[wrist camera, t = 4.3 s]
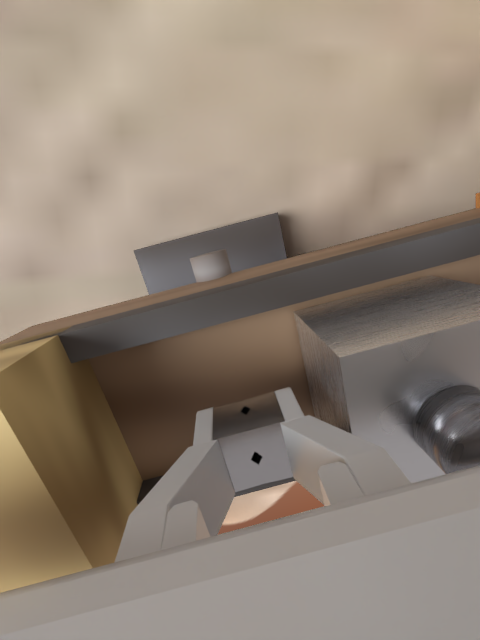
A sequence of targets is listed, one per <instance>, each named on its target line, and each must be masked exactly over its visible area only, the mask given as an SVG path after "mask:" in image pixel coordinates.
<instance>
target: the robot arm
mask: <svg viewBox="0 0 480 640" xmlns="http://www.w3.org/2000/svg"><path fill="white" fill-rule="evenodd" d="M291 477H293V478H294V479H295V480H296V481H297V482H298V483H300V484H301V485H302V486H303V487H304V488H305V489H307V490H308V491H309V492H310V493H311V494H312V495H313V496H315V497H316V498H317V499H318V500H319V501H320V502H322V503H323V504H324V505H325V506H324V507H321V508H317V509H313V510H310V511H305V512H302V513H298V514H295V515H290V516H287V517H283V518H279V519H276V520H272V521H268V522H264V523H261V524H257V525H253V526H250V527H246V528H242V529H238V530H234V531H231V532H227V533H223V534H220V535H217V534H218V532H219V530H220V528H221V525H222V523H223V521H224V519H225V516H226V514H227V512H228V510H229V507H230V505H231V503H232V501H233V498H234V496H235V492H238V491H241V490H245V489H248V488H251V487H255V486H258V485H261V484H265V483H269V482H274V481H278V480H282V479H286V478H291ZM0 640H480V465H478V466H475V467H471V468H467V469H464V470H460V471H456V472H453V473H449V474H445V475H441V476H437V477H434V478H430V479H426V480H422V481H419V482H415V483H411V482H410V481H409V480H408V479H407V477H406V476H405V475H404V473H403V472H402V471H401V470H400V468H399V467H398V466H397V464H396V463H395V462H394V461H393V459H392V458H391V457H390V456H389V454H388V453H387V452H386V450H385V449H384V448H382V447H380V446H378V445H375V444H373V443H371V442H369V441H366V440H364V439H362V438H360V437H357V436H355V435H353V434H351V433H348V432H346V431H344V430H342V429H339V428H337V427H335V426H333V425H330V424H328V423H326V422H324V421H321V420H319V419H317V418H315V417H312V416H310V415H308V416H304V414H303V412H302V410H301V408H300V406H299V404H298V402H297V400H296V398H295V396H294V393H293V391H292V389H291V388H290V387H286V388H283V389H280V390H276V391H273V392H270V393H266V394H263V395H259V396H256V397H252V398H249V399H246V400H240V401H236V402H232V403H228V404H223V405H219V406H215V407H211V408H207V409H203V410H200V411H198V412H197V414H196V423H195V432H194V441H193V446H190V447H188V448H187V449H186V450H185V451H184V453H183V454H182V455H181V456H180V457H179V458H178V460H177V461H176V462H175V463H174V464H173V465H172V466H171V468H170V469H169V470H168V471H167V472H166V473H165V475H164V476H163V477H162V478H161V479H160V480H159V481H158V483H157V484H156V485H155V486H154V487H153V488H152V490H151V491H150V492H149V493H148V494H147V495H146V496H145V498H144V499H143V500H142V501H141V502H140V503H139V504H138V506H137V507H136V508H135V509H134V510H133V511H132V513H131V514H130V515H129V517H128V521H127V524H126V527H125V530H124V534H123V537H122V540H121V543H120V546H119V550H118V553H117V556H116V559H115V562H114V563H111V564H107V565H103V566H99V567H96V568H92V569H88V570H84V571H80V572H77V573H73V574H69V575H65V576H62V577H58V578H54V579H50V580H47V581H43V582H39V583H35V584H32V585H28V586H24V587H20V588H16V589H13V590H9V591H5V592H1V593H0Z"/></svg>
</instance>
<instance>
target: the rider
mask: <svg viewBox="0 0 480 640" xmlns="http://www.w3.org/2000/svg"><path fill="white" fill-rule="evenodd" d="M294 316H295V321H296V326H297V331H298V336H299V341H300V346H301V351H302V356H303V361H304V365H305V370H306V375H307V380H308V385H309V390H310V395H311V400H312V405H313V410H314V414H315V418H317V419H319V420H321V421H324V422H326V423H328V424H330V425H333V426H335V427H337V428H339V429H342V430H344V431H346V432H348V433H351V434H353V435H355V436H357V437H360V438H362V439H364V440H366V441H369V442H371V443H373V444H375V445H378V446H380V447H382V448H384V449H385V450H386V452H387V453H388V454H389V456H390V457H391V458H392V459H393V461H394V462H395V463H396V464H397V466H398V467H399V468H400V470H401V471H402V472H403V473H404V475H405V476H406V477H407V479H408V480H409V481H410V482H411V483H415V482H419V481H422V480H426V479H430V478H434V477H437V476H441V475H445V474H449V473H453V472H456V471H460V470H464V469H467V468H471V467H475V466H478V465H480V285H477V284H472V283H467V282H462V281H457V280H451V279H446V278H441V277H436V276H431V275H429V276H426V277H422V278H418V279H414V280H411V281H407V282H403V283H399V284H395V285H392V286H388V287H384V288H380V289H377V290H373V291H369V292H365V293H362V294H358V295H354V296H350V297H347V298H343V299H339V300H335V301H332V302H328V303H324V304H320V305H317V306H313V307H309V308H305V309H301V310H298V311H294Z"/></svg>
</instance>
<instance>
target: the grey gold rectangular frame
mask: <svg viewBox="0 0 480 640" xmlns="http://www.w3.org/2000/svg"><path fill="white" fill-rule="evenodd" d="M134 253H135V256H136V259H137V261H138V264H139V267H140V270H141V273H142V276H143V278H144V281H145V284H146V287H147V290H148V293H149V295H147V296H143V297H140V298H136V299H132V300H128V301H125V302H121V303H117V304H113V305H109V306H106V307H102V308H98V309H94V310H91V311H87V312H83V313H79V314H75V315H72V316H68V317H64V318H60V319H57V320H53V321H49V322H45V323H42V324H38V325H34V326H31V327H29V328H27V329H25V330H23V331H21V332H19V333H17V334H15V335H13V336H11V337H9V338H7V339H5V340H3V341H1V342H0V593H1V592H5V591H9V590H13V589H16V588H20V587H24V586H28V585H32V584H35V583H39V582H43V581H47V580H50V579H54V578H58V577H62V576H65V575H69V574H73V573H77V572H80V571H84V570H88V569H92V568H96V567H99V566H103V565H107V564H111V563H114V562H115V559H116V556H117V553H118V550H119V546H120V543H121V540H122V537H123V534H124V530H125V527H126V524H127V521H128V517H129V515H130V514H131V513H132V511H133V510H134V509H135V508H136V507H137V506H138V504H139V503H140V502H141V501H142V500H143V499H144V498H145V496H146V495H147V494H148V493H149V492H150V491H151V490H152V488H153V487H154V486H155V485H156V484H157V483H158V481H159V480H160V479H161V478H162V477H163V476H164V475H165V473H166V472H167V471H168V470H169V469H170V468H171V466H172V465H173V464H174V463H175V462H176V461H177V460H178V458H179V457H180V456H181V455H182V454H183V453H184V451H185V450H186V449H187V448H188V447H190V446H193V441H194V432H195V423H196V414H197V412H198V411H200V410H203V409H207V408H211V407H215V406H219V405H223V404H228V403H232V402H236V401H240V400H246V399H249V398H252V397H256V396H259V395H263V394H266V393H270V392H273V391H276V390H280V389H283V388H286V387H290V388H291V389H292V391H293V393H294V396H295V398H296V400H297V402H298V404H299V406H300V408H301V410H302V412H303V414H304V416H308V415H310V416H312V417H315V414H314V410H313V405H312V400H311V395H310V390H309V385H308V380H307V375H306V370H305V365H304V361H303V356H302V351H301V346H300V341H299V336H298V331H297V326H296V321H295V316H294V311H298V310H301V309H305V308H309V307H313V306H317V305H320V304H324V303H328V302H332V301H335V300H339V299H343V298H347V297H350V296H354V295H358V294H362V293H365V292H369V291H373V290H377V289H380V288H384V287H388V286H392V285H395V284H399V283H403V282H407V281H411V280H414V279H418V278H422V277H426V276H429V275H431V276H436V277H441V278H446V279H451V280H457V281H462V282H467V283H472V284H477V285H480V193H476V208H475V209H472V210H468V211H464V212H460V213H457V214H453V215H449V216H445V217H441V218H438V219H434V220H430V221H426V222H423V223H419V224H415V225H411V226H408V227H404V228H400V229H396V230H392V231H389V232H385V233H381V234H377V235H374V236H370V237H366V238H362V239H358V240H355V241H351V242H347V243H343V244H340V245H336V246H332V247H328V248H325V249H321V250H317V251H313V252H309V253H306V254H302V255H298V256H294V257H291V258H287V257H286V252H285V247H284V242H283V237H282V232H281V227H280V222H279V217H278V213H274V214H270V215H266V216H263V217H259V218H255V219H251V220H248V221H244V222H240V223H236V224H232V225H229V226H225V227H221V228H217V229H213V230H210V231H206V232H202V233H198V234H195V235H191V236H187V237H183V238H179V239H176V240H172V241H168V242H164V243H161V244H157V245H153V246H149V247H145V248H142V249H138V250H134ZM292 481H296V480H295V479H294V478H293V477H291V478H286V479H282V480H278V481H274V482H269V483H265V484H261V485H258V486H255V487H251V488H248V489H245V490H241V491H238V492H235V496H234V497H236V496H240V495H243V494H247V493H251V492H255V491H258V490H262V489H266V488H270V487H273V486H277V485H281V484H284V483H288V482H292Z"/></svg>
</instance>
